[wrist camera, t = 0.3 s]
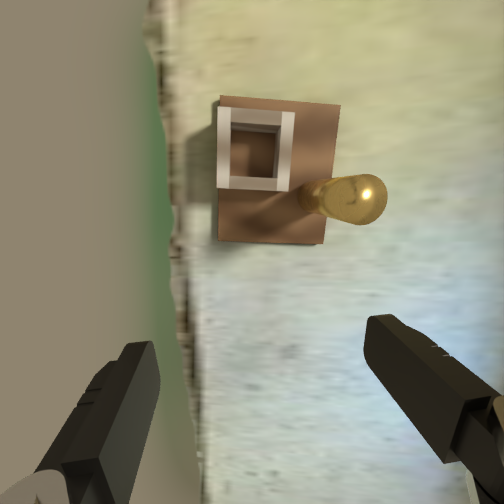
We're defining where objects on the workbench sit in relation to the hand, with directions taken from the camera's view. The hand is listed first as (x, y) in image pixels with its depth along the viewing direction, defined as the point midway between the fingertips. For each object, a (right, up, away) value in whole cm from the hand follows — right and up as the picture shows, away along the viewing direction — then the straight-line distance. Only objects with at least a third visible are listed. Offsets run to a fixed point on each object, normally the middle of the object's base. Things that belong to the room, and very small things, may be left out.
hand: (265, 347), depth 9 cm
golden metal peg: (+8, +12, +26) cm, 29 cm away
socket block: (+3, +14, +25) cm, 29 cm away
